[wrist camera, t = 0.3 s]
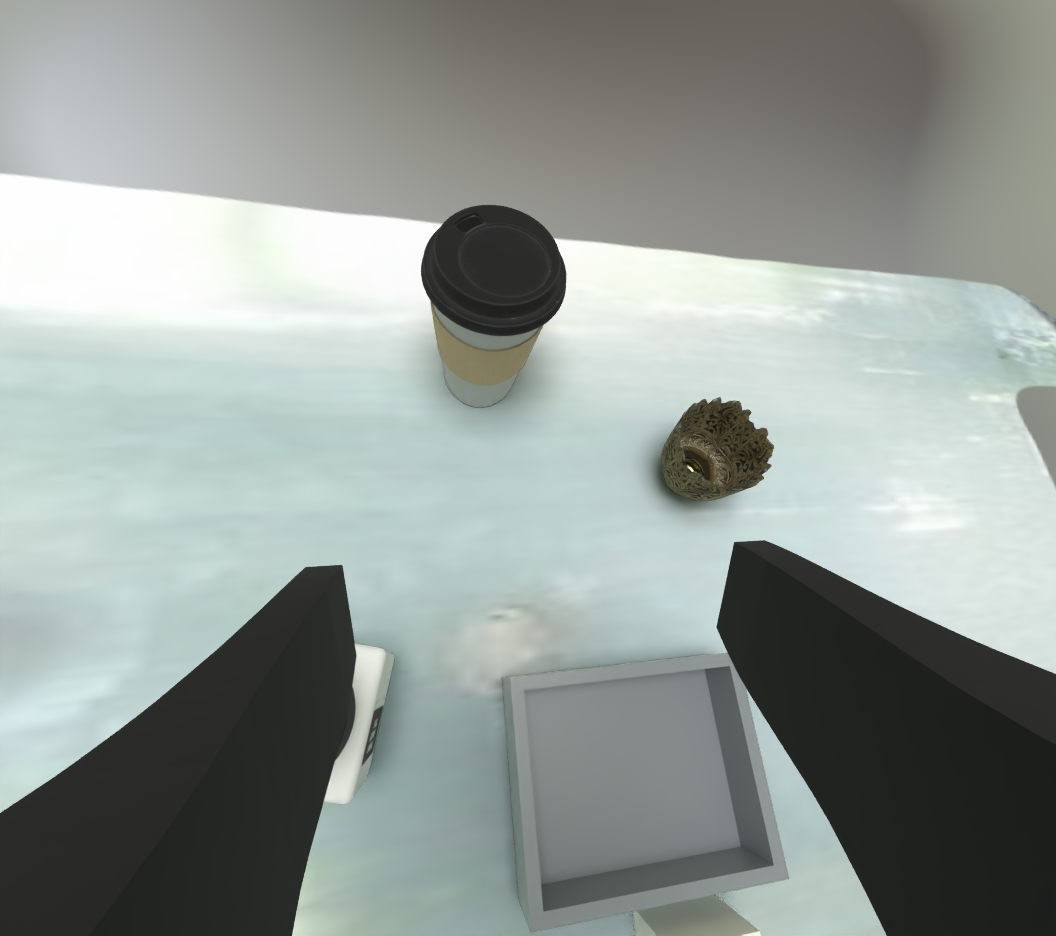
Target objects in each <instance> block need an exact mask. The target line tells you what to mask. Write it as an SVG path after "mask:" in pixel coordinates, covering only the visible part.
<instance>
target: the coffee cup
mask: <svg viewBox="0 0 1056 936" xmlns="http://www.w3.org/2000/svg"><path fill="white" fill-rule="evenodd" d="M421 276H422V282H423V286H424V288H425V291H426V293H427V295H428V297H429V299H430V300H431V309H432V315H433V321H434V327H435V333H436V339H437V345H438V350H439V353H440V356H441V358H442V364H443V370H444V376H445V381H446V384H447V386H448V388H449V390H450V391H451V393H452V394H453V395H454V396H455V397H456V398H457V399H458V400H460V401H461V402H463V403H464V404H467V405H469V406H473V407H487V406H491V405H493V404H495V403H497V402H499V401H500V400H502V399H503V398H504V397H505V396H506V395H507V393H508V392H509V390H510V388H511V386H512V384H513V382H514V380H515V378H516V376H517V374H518V372H519V371H520V369H521V368H522V367H523V366H524V364H525V362H526V360H527V358H528V356H529V354H530V352H531V350H532V348H533V346H534V343H535V341H536V339H537V337H538V335H539V333H540V331H541V329H542V327H543V325H544V324H545V323H547V322H548V321H549V320H550V319H551V318H552V317H553V316H554V315H555V314H556V312H557V311H558V310H559V308H560V306H561V304H562V302H563V299H564V296H565V290H566V269H565V265H564V262H563V259H562V256H561V254H560V252H559V250H558V247H557V244H556V242H555V240H554V239H553V237H552V236H551V234H550V233H549V232H548V230H547V229H545V227H544V226H543V225H542V224H540V223H539V222H538V221H536V220H535V219H534V218H532V217H531V216H529V215H527V214H525V213H523V212H521V211H518V210H515V209H512V208H508V207H504V206H497V205H480V206H473V207H469V208H466V209H464V210H461V211H459V212H457V213H455V214H454V215H452V216H451V217H449V218H448V219H447V220H446V221H445V222H444V223H443V224H442V226H441V227H440V228H439V229H438V230H437V231H436V232H435V233H434V234H433V236H432V237H431V238H430V240H429V242H428V244H427V246H426V248H425V252H424V257H423V260H422V265H421Z"/></svg>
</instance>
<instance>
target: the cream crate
mask: <svg viewBox="0 0 1056 936" xmlns="http://www.w3.org/2000/svg"><path fill="white" fill-rule="evenodd" d="M633 917H634V924H635V932H636V936H761V935H760V931H759V930H758V929H756V928H755V927H754V926H753V925H751V924H750V923H749V922H748V921H746V920H745V919H744V918H743V917H741V916H740V915H739V914H738V913H736V912H735V911H734V910H733V909H731V908H730V907H729V906H728V905H726V904H725V903H724V902H723V901H721V900H720V899H719V898H718V897H716V896H715V895H709V896H705V897H700V898H695V899H690V900H685V901H681V902H676V903H671V904H666V905H661V906H657V907H652V908H647V909H642V910H637V911H633Z"/></svg>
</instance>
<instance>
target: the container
mask: <svg viewBox="0 0 1056 936" xmlns="http://www.w3.org/2000/svg"><path fill="white" fill-rule="evenodd" d="M355 649H356V655H357V657H356V664H355V671H354V678H353V685H352V691H351V698H350V704H349V710H348V714H347V718H346V722H345V726H344V730H343V733H342V737H341V741H340V744H339V748H338V752H337V755H336V759H335V763H334V766H333V770H332V773H331V777H330V781H329V784H328V788H327V791H326V795H325V799H324V802H328V803H336V804H348V803H349V802H350V801H351V800H352V798H353V797H354V795H355V794H356V792H357V791H358V789H359V788H360V786H361V785H362V783H363V782H364V780H365V778H366V777H367V775H368V773H369V769H370V765H371V761H372V756H373V752H374V747H375V743H376V738H377V734H378V730H379V725H380V721H381V716H382V712H383V708H384V703H385V699H386V694H387V690H388V686H389V681H390V677H391V672H392V668H393V664H394V659H395V658H394V654H393V653H391V652H389V651H387V650H384V649H382V648H379V647H372V646H366V645H360V644H355Z"/></svg>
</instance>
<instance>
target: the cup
mask: <svg viewBox="0 0 1056 936" xmlns="http://www.w3.org/2000/svg"><path fill="white" fill-rule="evenodd" d="M750 414H751V411H750V410H743V411H742V407H741V403H740V402H739V401H729V402H726V403H721V397H719V398H716V399H713V400H712V401H711V402H710V403H709V404H708V403H707V401H706V399H703V400H701V401H700V402H699V403H697V404H696V403H694V404H693V405H692V406H691V407H690V408H689V409H688V410H687V411H686V412H684V414H683V415H682V417H681V419H680V420H679V422H678V423H677V425H676V426H675V428H674V429H673V431H672V432H671V434H670V436H669V437H668V439H667V441H666V443H665V445H664V448H663V451H662V457H661V465H662V470H663V474H664V480H665V482H666V484H667V486H668V487H669V488H670V489H671V490H672V491H673V492H675V493H677V494H679V495H682V496H684V497H686V498H689V499H693V500H698V501H710V500H715V499H720V498H723V497H726V496H729V495H731V494H734V493H737V492H739V491H742V490H745V489H748V488H751V487H753V486H756V485H757V483H759V482H760V481H761V480H763V479H764V477H763V476H762V474H763V473H765V472H766V471H767V470H768V469H769V468H770V467H771V466H772V465H771V464H767V462H768V460H769V459H770V458H771V456H772V452H773V449H774V445H773V444H772V443H771V442H770V441H769V440H768V439H767V438H766V437H767V436H768V431H767V429H766V428H760V429H757V430H756V428H755V427H754V423H753V422H750V420H749V415H750Z"/></svg>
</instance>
